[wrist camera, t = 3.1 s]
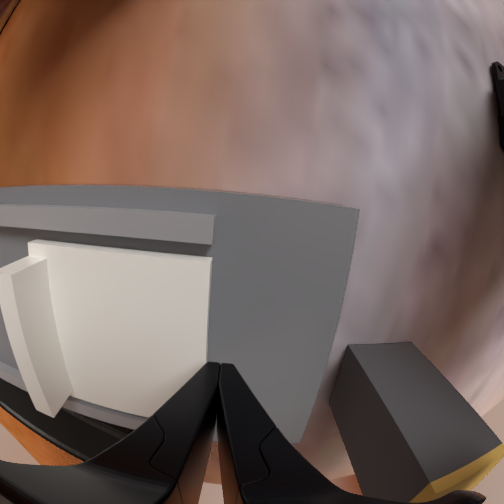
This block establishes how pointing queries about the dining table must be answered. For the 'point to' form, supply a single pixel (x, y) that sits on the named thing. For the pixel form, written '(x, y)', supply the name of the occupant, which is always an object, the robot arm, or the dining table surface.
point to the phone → (62, 425)
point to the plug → (408, 426)
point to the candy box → (6, 10)
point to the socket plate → (222, 279)
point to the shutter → (106, 323)
